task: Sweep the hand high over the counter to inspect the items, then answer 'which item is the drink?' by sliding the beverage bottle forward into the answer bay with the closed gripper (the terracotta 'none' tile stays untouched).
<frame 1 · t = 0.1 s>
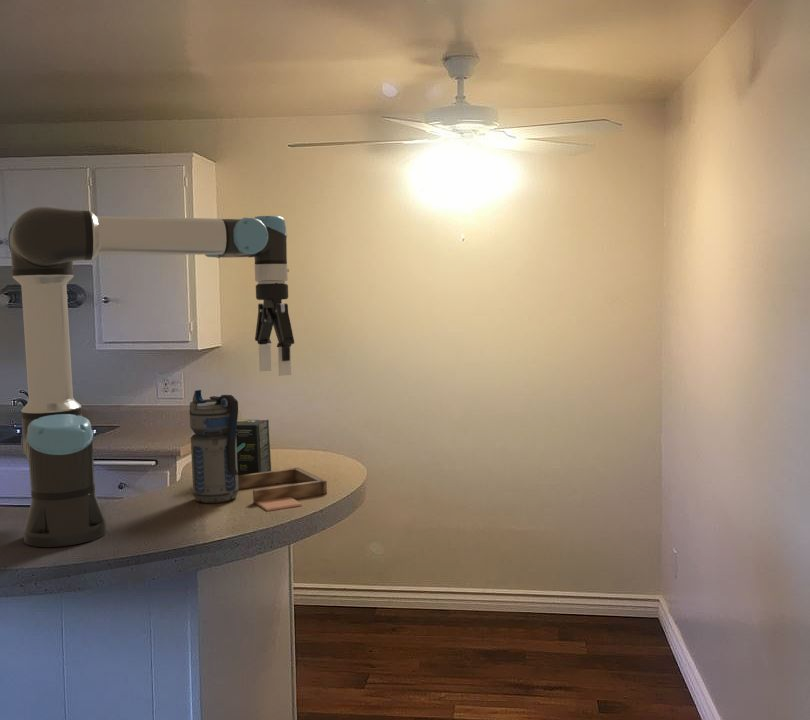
hand: (275, 373, 196), 28 cm above the countertop, fingers open, 13 cm apart
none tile: (278, 504, 184), on the countertop
tampon box: (245, 479, 211), on the countertop
beverage bottle: (218, 500, 190), on the countertop
answer bay: (276, 491, 197), on the countertop
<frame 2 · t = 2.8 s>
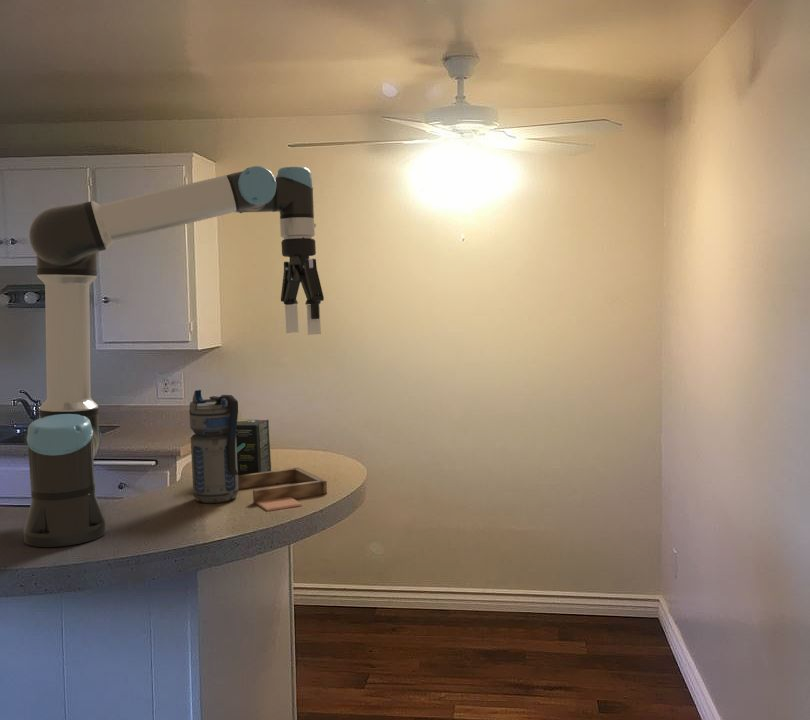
hand: (303, 333, 187), 38 cm above the countertop, fingers open, 13 cm apart
nothing on the countertop moved.
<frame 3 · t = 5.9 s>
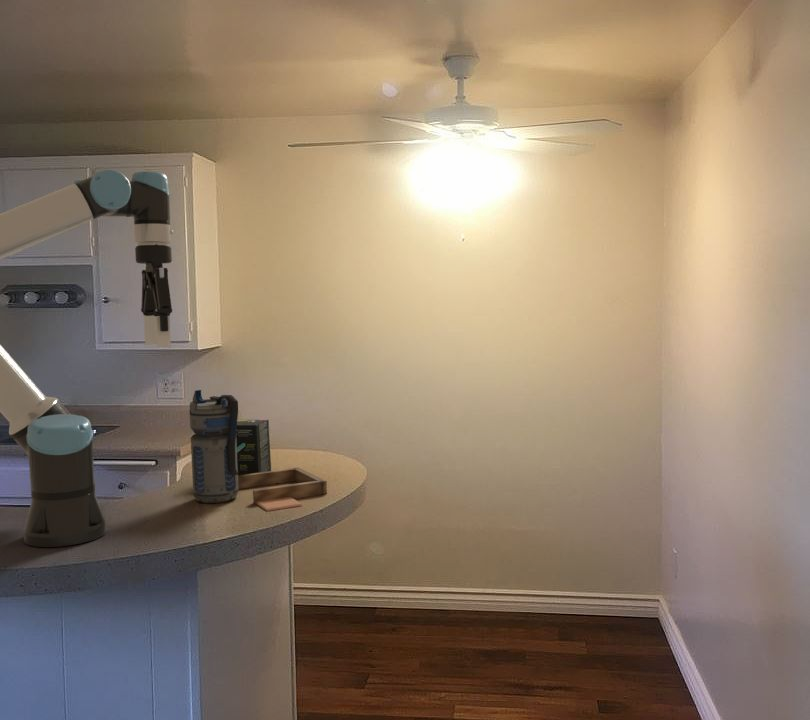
hand: (157, 345, 182), 36 cm above the countertop, fingers open, 11 cm apart
nothing on the countertop moved.
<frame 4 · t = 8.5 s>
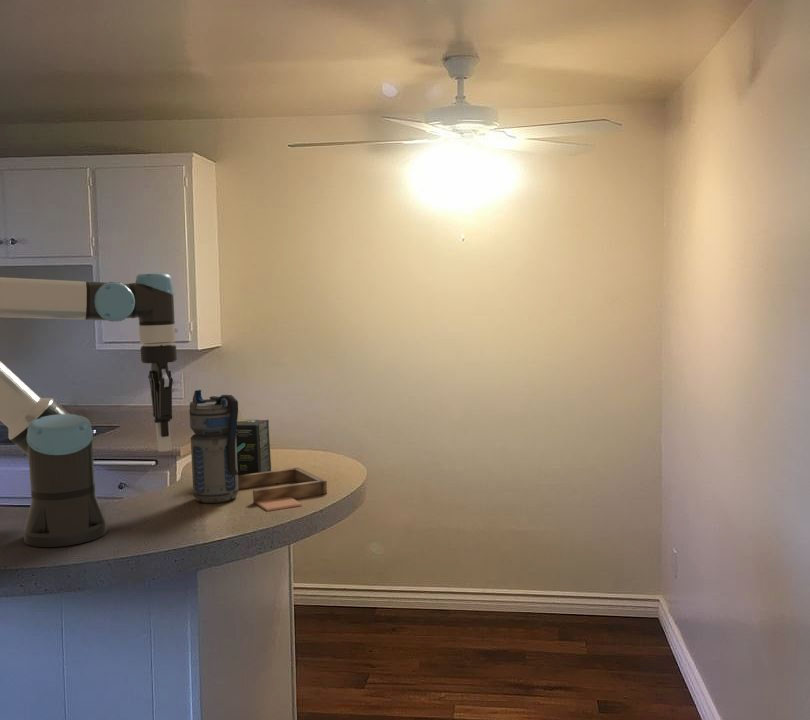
hand: (164, 450, 183), 13 cm above the countertop, fingers closed
nothing on the countertop moved.
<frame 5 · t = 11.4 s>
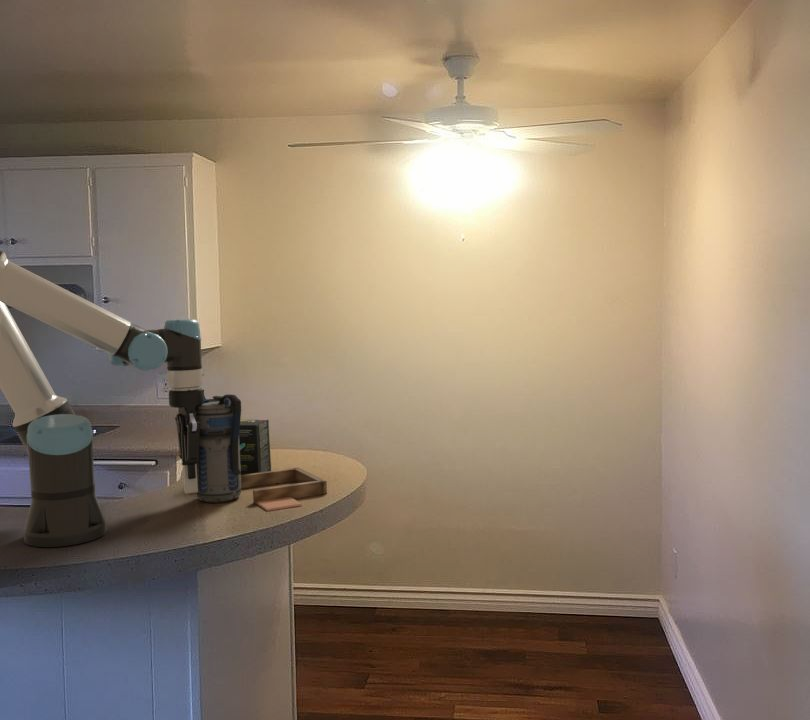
hand: (191, 492, 187), 3 cm above the countertop, fingers closed
beverage bottle: (221, 499, 190), on the countertop, touching gripper
everything else where it was.
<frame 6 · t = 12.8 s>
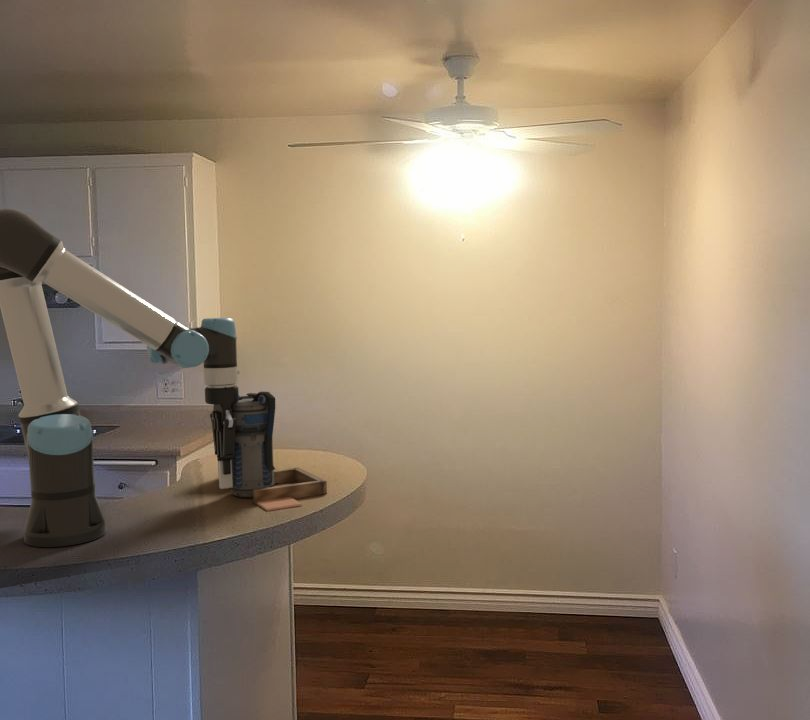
hand: (226, 487, 191), 3 cm above the countertop, fingers closed
beverage bottle: (255, 494, 194), on the countertop, touching gripper
everything else where it was.
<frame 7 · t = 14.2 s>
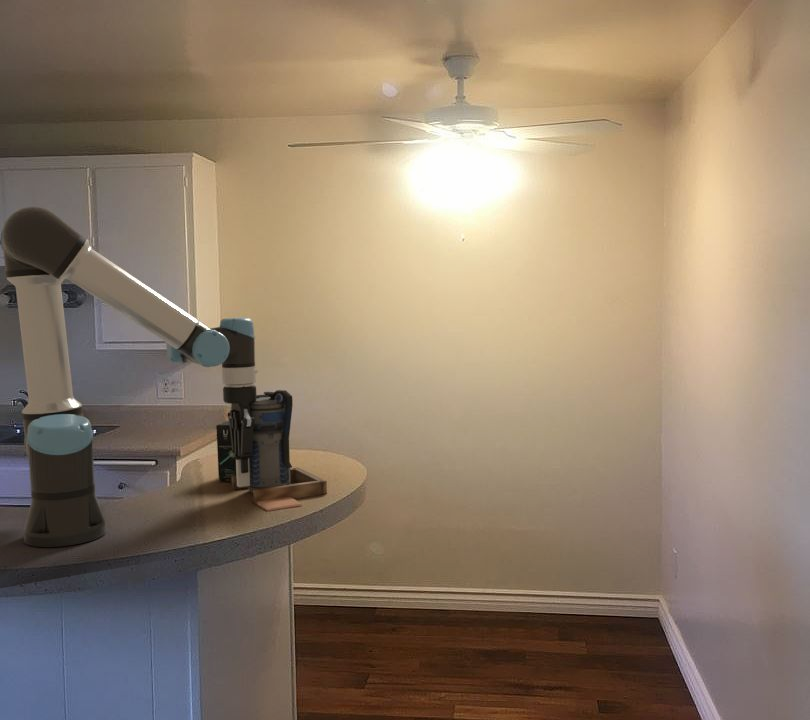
hand: (243, 485, 193), 2 cm above the countertop, fingers closed
beverage bottle: (272, 492, 196), on the countertop, touching gripper
everything else where it was.
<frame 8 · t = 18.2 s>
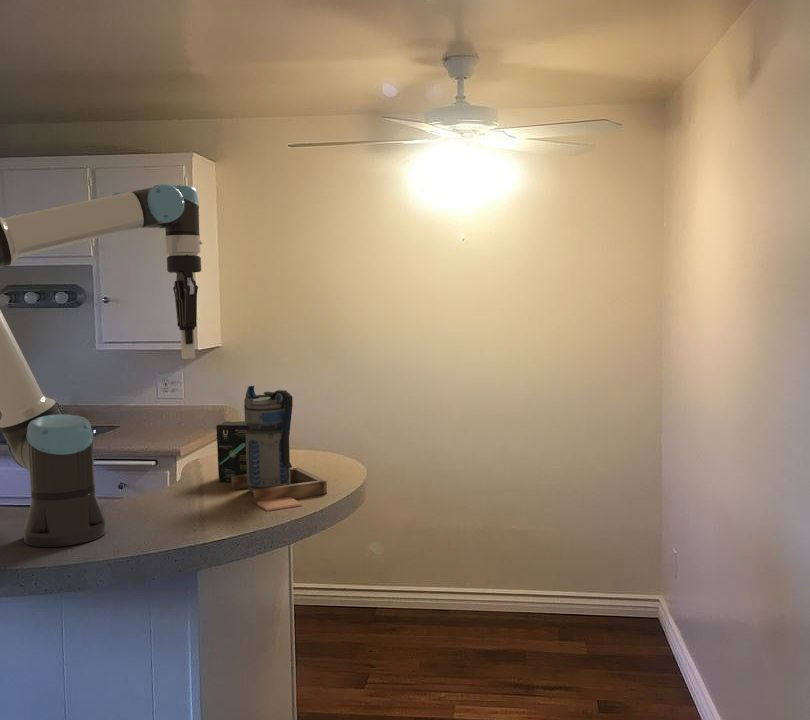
hand: (188, 358, 191), 32 cm above the countertop, fingers closed
beverage bottle: (272, 492, 196), on the countertop
everything else where it was.
at the end: beverage bottle inside the target area on the answer bay (1.4 cm from its centre), point 0.0 cm above the answer bay's base; beverage bottle tilted 0° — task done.
